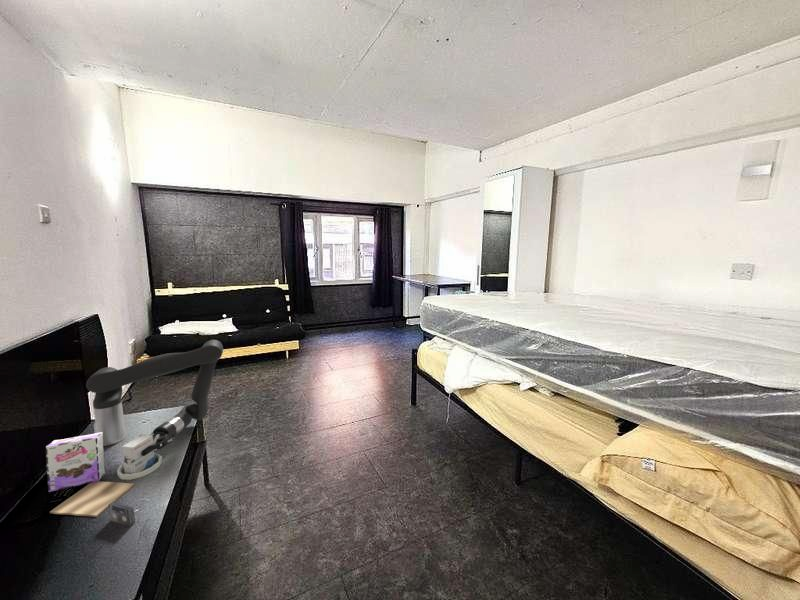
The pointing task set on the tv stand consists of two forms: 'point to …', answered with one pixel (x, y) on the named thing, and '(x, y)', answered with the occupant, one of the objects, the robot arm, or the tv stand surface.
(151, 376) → the robot arm
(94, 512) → the wooden board
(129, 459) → the ink box
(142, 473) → the ceramic dish
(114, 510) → the mini dv tape
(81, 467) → the candy box
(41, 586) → the tv stand surface
